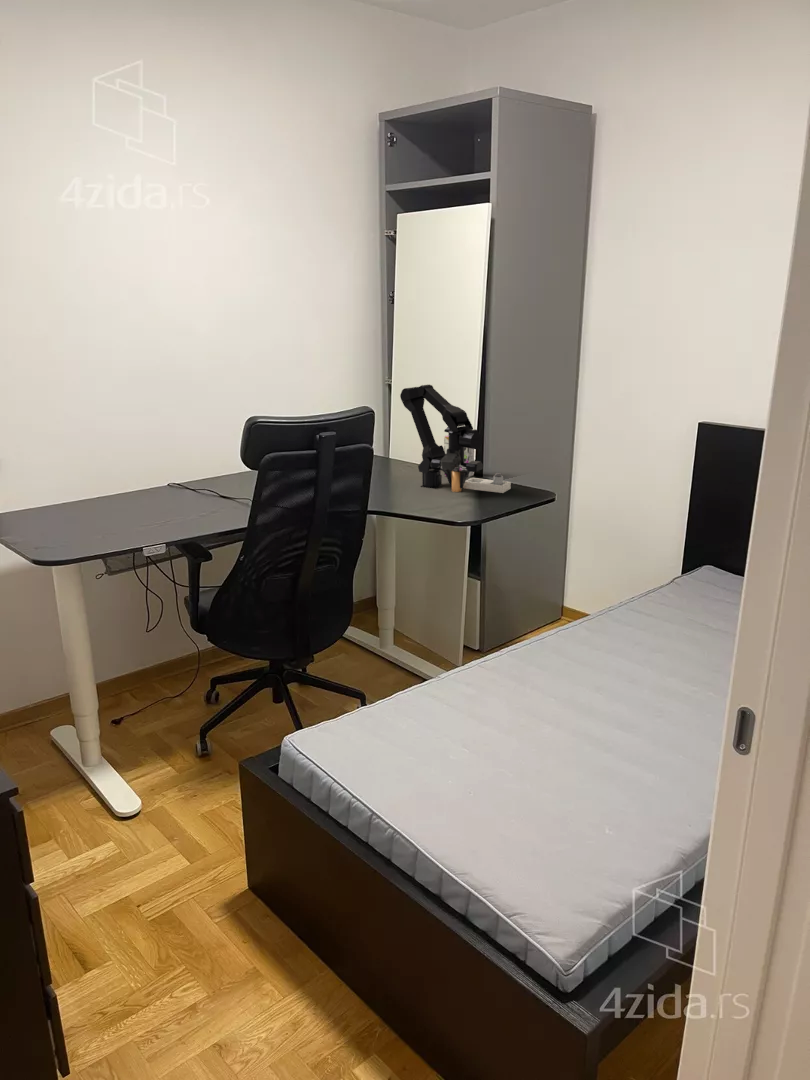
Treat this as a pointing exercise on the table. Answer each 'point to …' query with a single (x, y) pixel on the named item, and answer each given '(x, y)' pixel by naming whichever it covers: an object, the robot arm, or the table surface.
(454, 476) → the orange cylindrical bottle
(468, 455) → the snack bar box
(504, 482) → the white compartment tray
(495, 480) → the grey plug
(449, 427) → the robot arm
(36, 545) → the table surface
